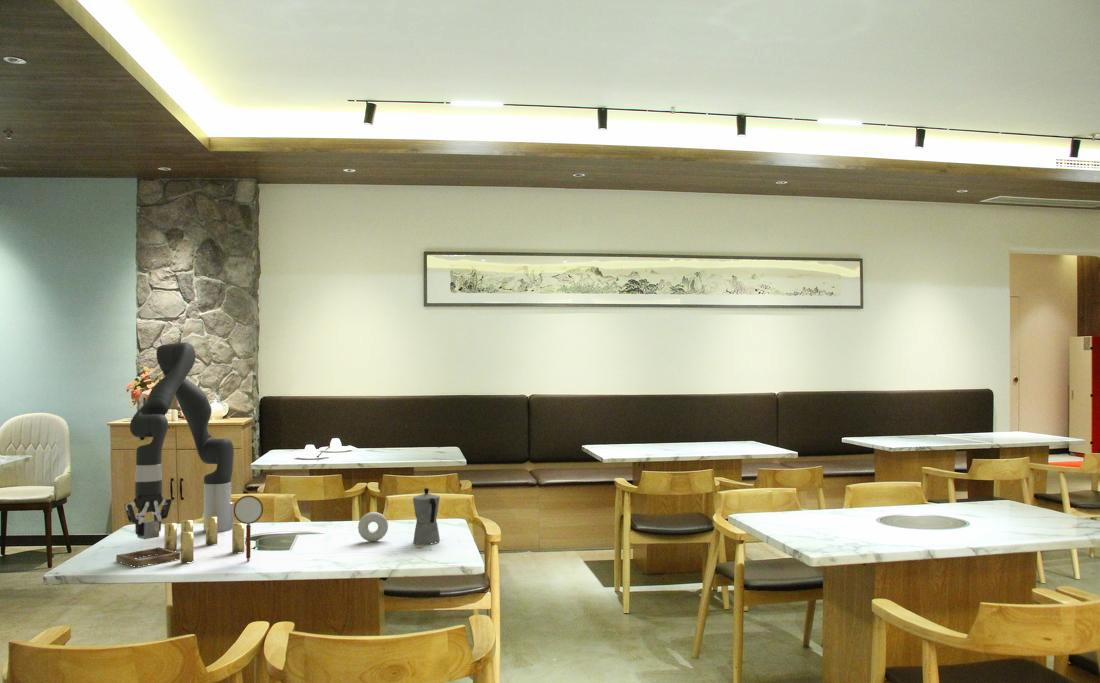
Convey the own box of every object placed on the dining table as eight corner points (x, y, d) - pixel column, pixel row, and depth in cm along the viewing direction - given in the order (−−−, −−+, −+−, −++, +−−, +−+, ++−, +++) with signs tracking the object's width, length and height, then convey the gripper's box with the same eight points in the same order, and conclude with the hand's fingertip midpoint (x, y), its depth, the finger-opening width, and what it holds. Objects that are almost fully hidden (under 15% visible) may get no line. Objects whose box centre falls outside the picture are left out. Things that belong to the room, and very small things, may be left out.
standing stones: (212, 542, 277) (212, 515, 277) (249, 551, 263) (249, 523, 263) (148, 554, 260) (148, 525, 260) (184, 564, 246) (184, 534, 246)
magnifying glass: (263, 559, 251) (263, 494, 251) (262, 561, 249) (262, 495, 250) (234, 561, 249) (234, 495, 250) (232, 562, 248) (233, 496, 248)
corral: (159, 553, 260) (159, 547, 260) (179, 559, 252) (180, 552, 252) (116, 561, 250) (116, 554, 250) (136, 567, 242) (136, 561, 242)
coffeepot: (407, 539, 279) (407, 486, 279) (434, 536, 283) (433, 484, 283) (420, 548, 265) (420, 492, 265) (448, 545, 269) (448, 490, 269)
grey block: (152, 535, 254) (152, 519, 255) (159, 536, 252) (159, 520, 252) (137, 537, 251) (137, 521, 251) (144, 539, 248) (144, 522, 248)
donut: (357, 543, 273) (357, 513, 273) (357, 541, 276) (357, 511, 277) (388, 541, 275) (388, 512, 276) (388, 539, 279) (387, 510, 279)
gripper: (165, 475, 260) (165, 529, 259) (119, 480, 249) (118, 537, 248) (177, 477, 255) (176, 532, 255) (130, 482, 244) (130, 540, 243)
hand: (148, 534), depth 251 cm, fingers closed on grey block, 4 cm apart
